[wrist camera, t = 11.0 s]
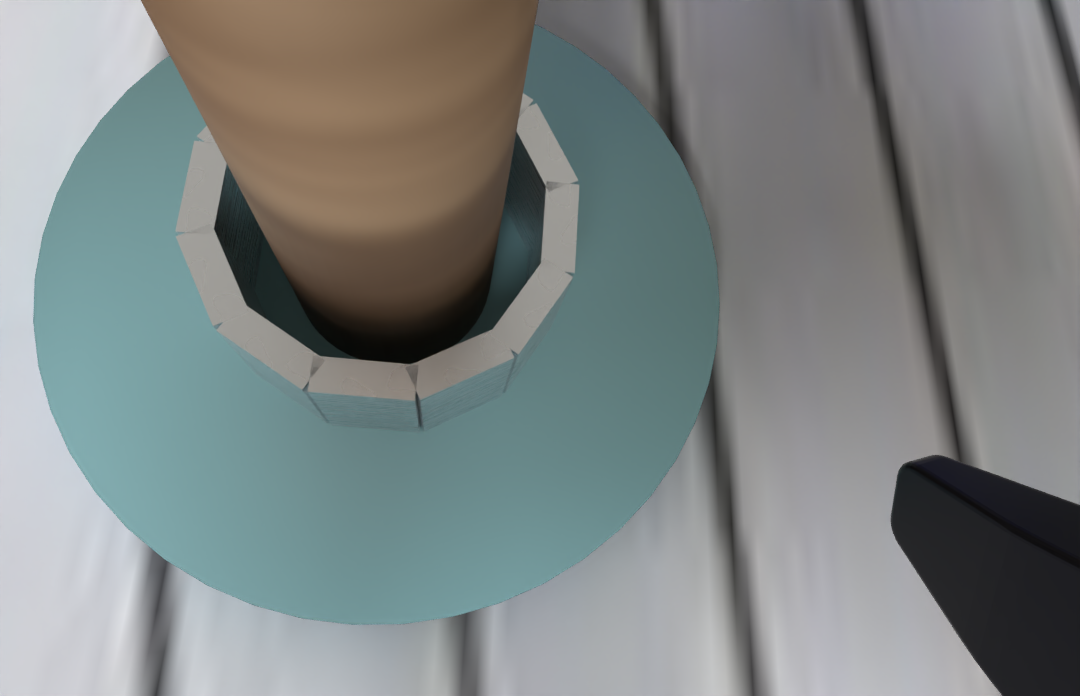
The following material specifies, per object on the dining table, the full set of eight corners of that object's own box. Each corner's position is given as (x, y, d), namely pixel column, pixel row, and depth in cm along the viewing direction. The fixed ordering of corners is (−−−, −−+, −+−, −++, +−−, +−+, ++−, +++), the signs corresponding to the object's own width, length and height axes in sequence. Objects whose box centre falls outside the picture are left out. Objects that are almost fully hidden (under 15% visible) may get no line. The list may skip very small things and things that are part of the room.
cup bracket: (798, 236, 20) (899, 141, 15) (476, 765, 15) (489, 840, 11) (340, -63, 20) (313, -234, 16) (-83, 365, 16) (-272, 290, 12)
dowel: (523, 314, 16) (774, -471, 4) (346, 398, 16) (-27, -286, 3) (438, 158, 17) (431, -902, 5) (264, 230, 16) (-298, -858, 4)
